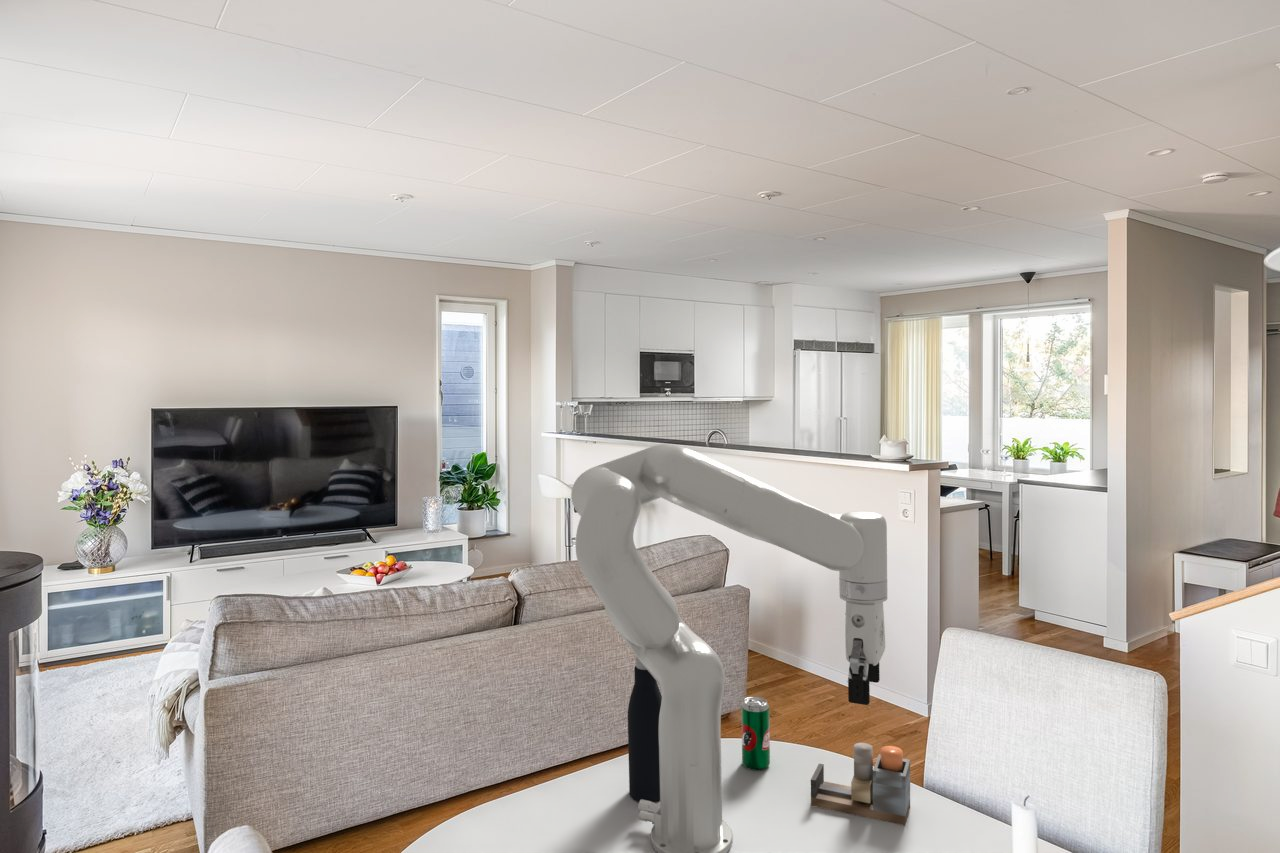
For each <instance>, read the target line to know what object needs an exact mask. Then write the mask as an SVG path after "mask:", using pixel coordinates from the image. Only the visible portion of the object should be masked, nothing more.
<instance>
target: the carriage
mask: <svg viewBox="0 0 1280 853" xmlns="http://www.w3.org/2000/svg"><path fill="white" fill-rule="evenodd" d="M873 749H874V747H873V745H871V744H869V743H866V742H856V743H855V744H854V745H853V777H852V779H851V781H850V786H851V800H856V801H861V802H866V803H871V800H872V797H873V769H874V750H873Z"/></svg>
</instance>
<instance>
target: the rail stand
mask: <svg viewBox="0 0 1280 853" xmlns="http://www.w3.org/2000/svg"><path fill="white" fill-rule="evenodd" d="M824 769H825V768H824V764H823V763H818V765H817V766H816V768H815V771H814V772H813V774H812V777H811V778H810V806H811V807H814V808H818V809H819V808H820V809H824V810H828V811H834V812H838V813H843V814H848V815H851V816H857V817H863V818H868V819H872V820H877V821H881V822H886V823H891V824H896V825H901V826H903V827H904V826H905V827H906V825H907V822H908V817H909V814H910V809H911V759H907V758H903V769H902V770H900V771H889V770H885V769H883V768H882V767H881V753H879V754H878V756H877V758H876V761H875V763H874V765H873V797H872V800H871V803H866V802H861V801H856V800H851V785H845V784H839V783H834V782H830V781H825V778H824V777H825V774H824V773H825V772H824V771H825V770H824Z"/></svg>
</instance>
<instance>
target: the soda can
mask: <svg viewBox="0 0 1280 853" xmlns="http://www.w3.org/2000/svg"><path fill="white" fill-rule="evenodd" d="M770 724H771V723H770V706H769V704H768V700H767V699H766V698H764V697H759V696H748V697H746V698H744V699H743V703H742V705H741V761H742V762H741V764H743V765H744V766H745V768H747V769H748V768H749V770H752V771H762V770H765V769H767V767H769V765H771V747H770V746H771V738H770V736H771V735H770V732H771V731H770V730H771V729H770V728H771V727H770Z"/></svg>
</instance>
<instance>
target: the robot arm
mask: <svg viewBox="0 0 1280 853" xmlns="http://www.w3.org/2000/svg"><path fill="white" fill-rule="evenodd" d="M570 494H571V501H572V505H573V509H575V512H577V514H578V516H580V519H579V520H578V525H577V529H576V533H575V555H576V560H577V563H578V565H579V569H580V570H581V572H582V574H583V575H584V578H585V579H586V580H587V581H588V584H589V585H590V586H591V588H592V589H593V590H594V592H595V593H596V595H597V596H598V598H599V599H600V601H601V602H602V603H603V604H602V605H604V610H605V614H606V615H607V618H608V620H609V621H610V623H611V624H612V625H613V627H614V628H615V630H616V631H617V632H618V633H619V635H620V636H621V638H622V639H623V641H624V642H625V643H626V644H627V645H628V647H629V649H631V651H632V652H633V653H634V655H635V657H636V656H637V657H638V658H639V660H640V661H641V662H642V664H643V665H644V666H645V668H646V669H647V670H648V671H649V673H650V674H651V675H652V676H653V677H654V679H655V680H656V681H657V684H658V686H659V688H660V692H661V695H662V701H661V707H660V713H659V727H658V735H659V772H660V801H658V802H655V803H654V802H651V801H647V800H643V799H641V800H640V802H638V804H637V805H638V807H637V809H638V810H637V811H638V812H639V814H638V820H639V821H642V822H649V823H651V824H652V828H651V831H650V843H651V845H652V847H653V849H654V851H656V852H657V853H728V852H729V851H730V849H731V848H732V846H733V843H734V841H733V837H734V836H733V831H732V828H731V826H730V825H729V824H728V823H727V822H726V821H725V820H724V819H723V804H722V803H723V798H722V797H723V796H722V795H723V794H722V793H723V792H722V789H723V786H722V785H723V784H722V738H721V737H722V730H721V729H722V727H721V726H722V724H721V723H722V722H721V721H722V717H721V716H722V707H723V706H722V705H723V698H724V692H725V691H724V690H725V683H726V678H725V675H726V674H725V670H724V666H723V663H722V661H721V659H720V657H719V655H718V653H716V651H715V650H714V649H713V648H712V647H711V646H710V645H709V644H708V643H707V642H706V641H704V639H703V638H701V637H700V636H699V635H697V634H696V633H695V632H694V631H692V630H691V628H689V626H688V625H687V624H686V623H685V621H684V620H683V619H682V617H681V616H680V612H679V608H678V605H677V603H676V601H675V600H674V597H673V596H672V595H671V593H670V592H669V591H668V590H667V589H666V588H665V587H664V585H662V584H661V582H660V580H659V579H658V578H657V576H655V574H654V573H653V572H652V570H651V569H650V567H649V566H648V565H647V563H646V562H645V560H644V559H643V557H642V555H641V554H640V552H639V551H638V549H637V547H636V545H635V542H634V531H635V527H636V524H637V521H638V518H639V516H640V512H641V507H642V506H643V505H645V504H648V503H650V502H653V501H656V500H658V499H663V500H665V501H668V502H670V503H672V504H674V505H675V506H678V507H680V508H683V509H685V510H688V511H690V512H692V513H695V514H697V515H699V516H701V517H703V518H705V519H708V520H710V521H713V522H715V523H717V524H719V525H721V526H724V527H726V528H728V529H730V530H733V531H735V532H738V533H740V534H742V535H745V536H746V537H749V538H752V539H755V540H757V541H762V542H765V543H767V544H771V545H774V546H776V547H778V548H781V549H783V550H786V551H788V552H790V553H793V554H794V555H798V556H800V557H801V558H804V559H806V560H807V561H810V562H811V563H812V562H813V563H815V564H817V565H820V566H822V567H824V568H826V569H828V570H831V571H836V572H838V573H839V574H838V575H839V577H838V580H839V582H838V583H839V586H838V587H839V590H838V591H839V599H841V600H842V601H845V614H844V615H845V620H844V621H845V622H844V624H845V625H844V626H845V628H844V629H845V635H844V638H845V656H846V657H845V658H846V661H847V662H848V663H849V666H848V667H849V668H848V675H847V685H848V686H847V691H848V692H847V694H848V696H847V697H848V702H849V703H851V704H856V705H863V706H869V704H870V694H871V693H870V682H871V683H879V682H880V678H881V677H880V676H881V675H880V661H881V659H882V657H883V655H884V652H885V651H886V650H885V649H886V633H885V632H886V631H885V629H886V628H885V611H884V602H887V600H888V529H887V520H886V518H885V517H884V516H883V515H882V514H880V513H878V512H873V511H865V510H864V511H849V512H845V513H839V514H838V513H828V512H825V511H823V510H821V509H819V508H817V507H815V506H812V505H809V504H807V503H805V502H803V501H801V500H799V499H796V498H794V497H792V496H790V495H788V494H786V493H784V492H782V491H780V490H779V489H776V488H775V487H773V486H771V485H768V484H766V483H764V482H763V481H761V480H758V479H756V478H753V477H752V476H749V475H747V474H745V473H742V472H740V471H738V470H737V469H734V468H732V467H730V466H727V465H725V464H724V463H721V462H719V461H717V460H715V459H712V458H710V457H708V456H706V455H704V454H702V453H699V452H697V451H695V450H693V449H691V448H687V447H685V446H679V445H675V444H671V443H661V444H656V445H654V446H650V447H645V448H644V449H640V450H638V451H635V452H633V453H630V454H627V455H624V456H622V457H619V458H615V459H612V460H610V461H607V462H604V463H601V464H598V465H595V466H593V467H590V468H589V469H587V470H585V471H584V472H582V473H581V474H580V475H579V476H578V477H577V478H576V480H575V481H574V483H573V485H572V487H571V492H570Z"/></svg>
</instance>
